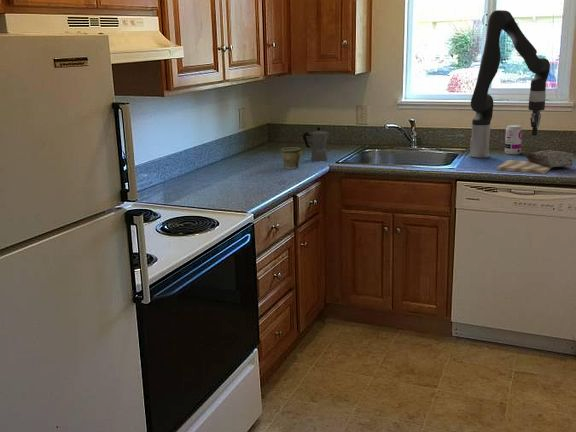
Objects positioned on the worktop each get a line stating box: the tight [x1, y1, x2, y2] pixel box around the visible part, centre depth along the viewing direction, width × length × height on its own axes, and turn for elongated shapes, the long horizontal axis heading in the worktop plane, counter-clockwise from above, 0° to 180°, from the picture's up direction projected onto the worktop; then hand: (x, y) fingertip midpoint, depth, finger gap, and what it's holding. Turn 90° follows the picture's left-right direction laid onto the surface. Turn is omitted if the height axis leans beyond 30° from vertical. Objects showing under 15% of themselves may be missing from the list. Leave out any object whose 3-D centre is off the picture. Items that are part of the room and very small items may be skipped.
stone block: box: [525, 149, 574, 168], centre depth 306 cm, size 13×7×20 cm
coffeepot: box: [302, 126, 331, 162], centre depth 340 cm, size 15×9×18 cm, turn 99°
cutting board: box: [496, 159, 553, 175], centre depth 305 cm, size 22×20×2 cm
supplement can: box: [504, 124, 523, 155], centre depth 342 cm, size 8×8×15 cm
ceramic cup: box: [280, 146, 305, 170], centre depth 321 cm, size 13×10×10 cm
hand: (534, 135), depth 313 cm, fingers closed
